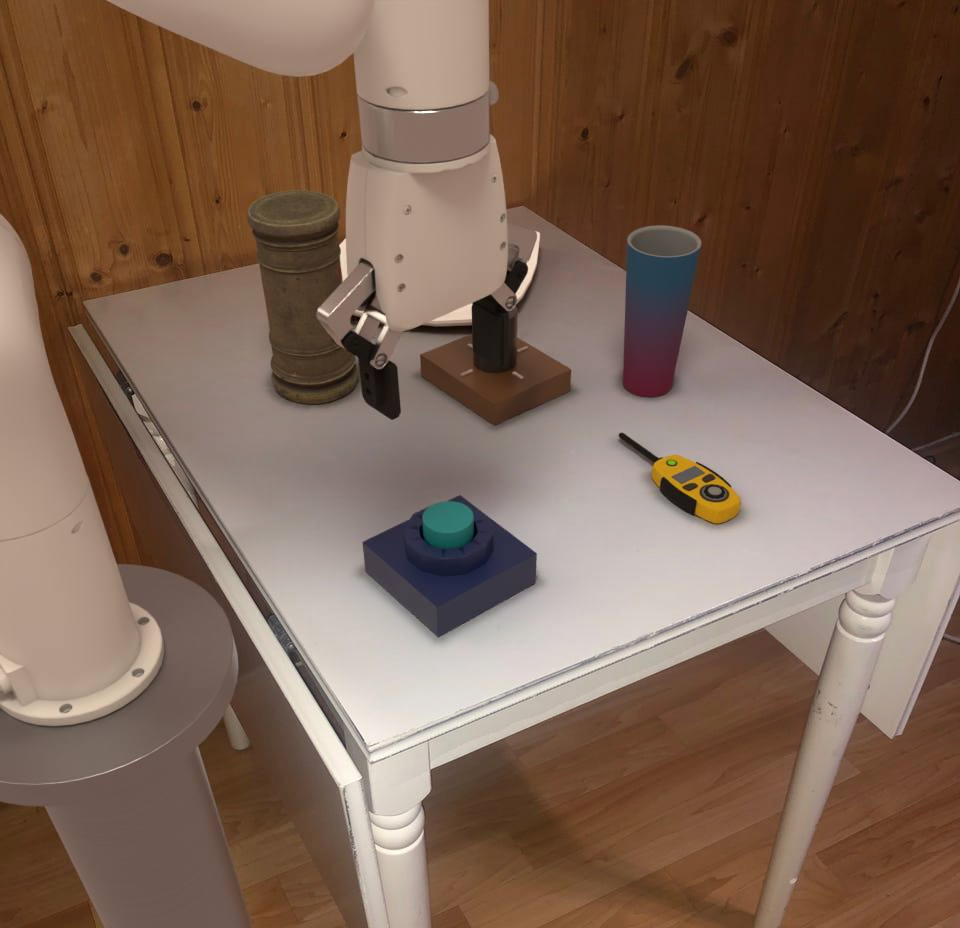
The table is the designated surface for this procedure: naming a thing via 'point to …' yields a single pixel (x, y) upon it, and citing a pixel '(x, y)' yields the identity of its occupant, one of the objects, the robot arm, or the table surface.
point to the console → (495, 379)
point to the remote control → (692, 486)
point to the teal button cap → (448, 525)
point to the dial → (490, 367)
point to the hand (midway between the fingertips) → (438, 383)
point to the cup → (656, 305)
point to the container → (301, 293)
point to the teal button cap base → (449, 570)
